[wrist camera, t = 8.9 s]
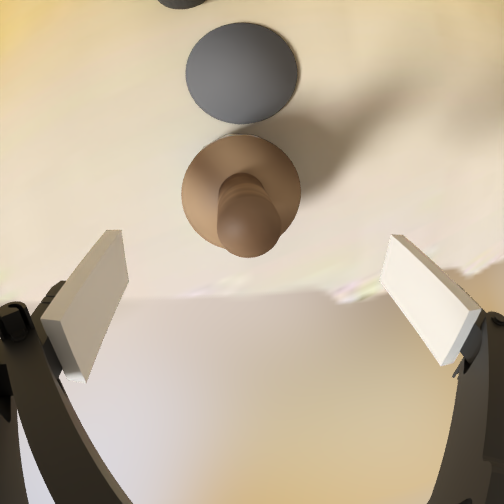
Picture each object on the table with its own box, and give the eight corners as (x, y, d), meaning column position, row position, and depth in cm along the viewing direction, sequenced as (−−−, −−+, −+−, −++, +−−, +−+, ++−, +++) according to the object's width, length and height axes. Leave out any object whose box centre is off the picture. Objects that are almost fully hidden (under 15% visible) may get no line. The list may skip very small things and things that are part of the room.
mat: (225, 7, 23) (225, 5, 23) (316, 61, 27) (317, 60, 26) (165, 91, 27) (164, 90, 26) (258, 144, 30) (258, 144, 30)
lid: (222, 113, 24) (221, 110, 16) (319, 175, 27) (360, 203, 19) (163, 211, 27) (139, 255, 19) (257, 263, 30) (270, 320, 22)
